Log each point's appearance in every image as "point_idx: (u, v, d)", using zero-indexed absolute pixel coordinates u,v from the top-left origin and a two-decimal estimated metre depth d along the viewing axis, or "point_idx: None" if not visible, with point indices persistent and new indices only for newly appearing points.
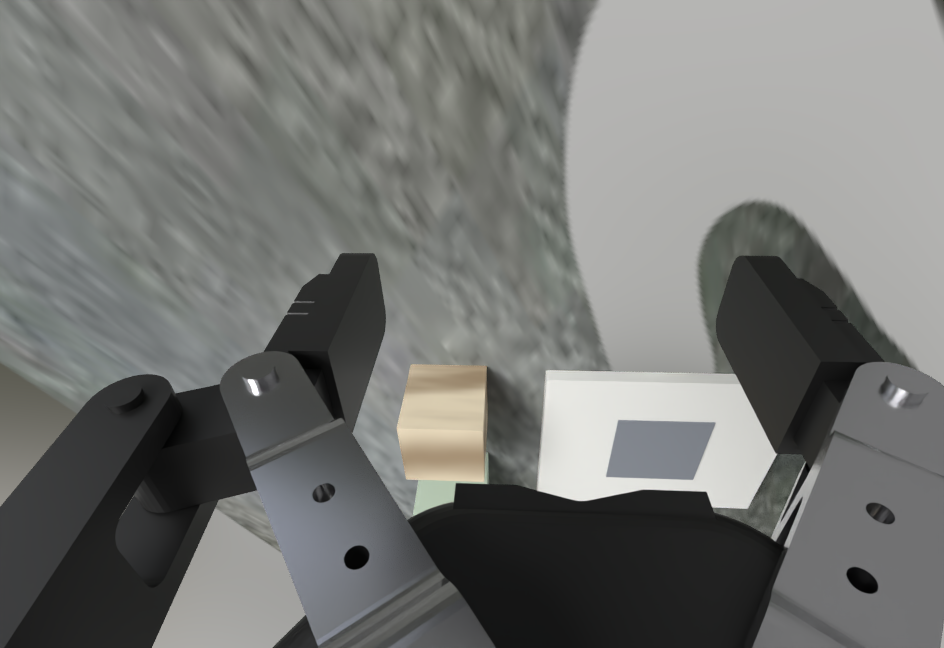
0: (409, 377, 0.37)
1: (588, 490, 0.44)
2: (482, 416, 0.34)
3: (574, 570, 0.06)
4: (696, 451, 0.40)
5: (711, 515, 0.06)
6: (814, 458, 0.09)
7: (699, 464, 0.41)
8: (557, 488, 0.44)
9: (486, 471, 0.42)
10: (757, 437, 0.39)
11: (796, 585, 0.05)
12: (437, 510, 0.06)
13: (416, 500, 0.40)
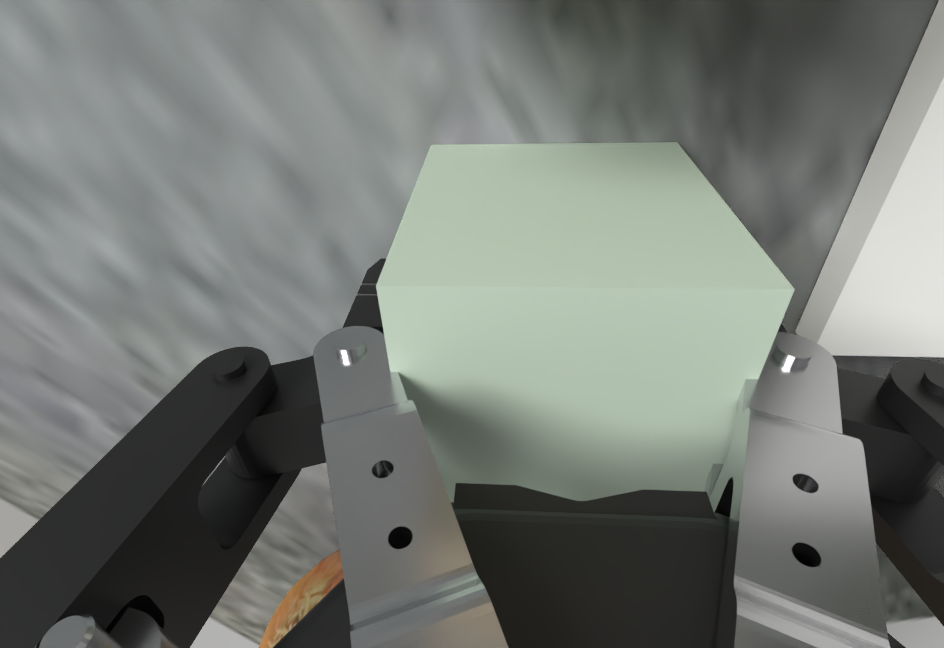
0: None
1: None
2: None
3: (574, 570, 0.06)
4: None
5: (711, 515, 0.06)
6: None
7: None
8: (917, 290, 0.12)
9: (698, 174, 0.10)
10: None
11: (796, 585, 0.05)
12: None
13: (398, 244, 0.08)
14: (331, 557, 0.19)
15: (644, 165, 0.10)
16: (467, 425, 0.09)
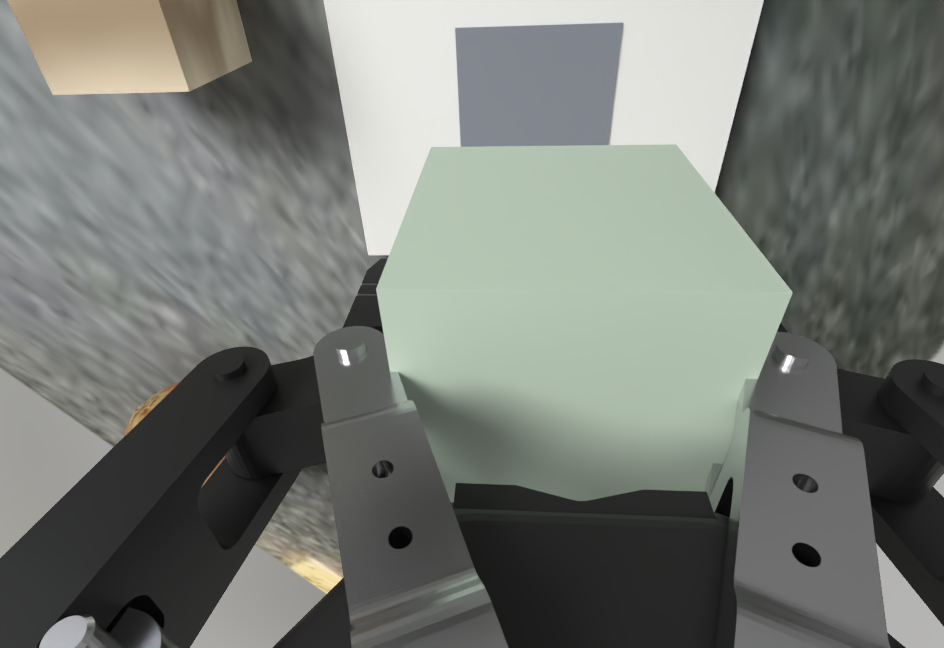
0: None
1: None
2: None
3: (574, 570, 0.06)
4: (599, 108, 0.24)
5: (711, 515, 0.06)
6: None
7: (609, 143, 0.25)
8: (393, 221, 0.28)
9: (697, 177, 0.10)
10: (699, 61, 0.22)
11: (796, 585, 0.05)
12: None
13: (398, 247, 0.08)
14: None
15: (643, 167, 0.10)
16: (467, 427, 0.09)
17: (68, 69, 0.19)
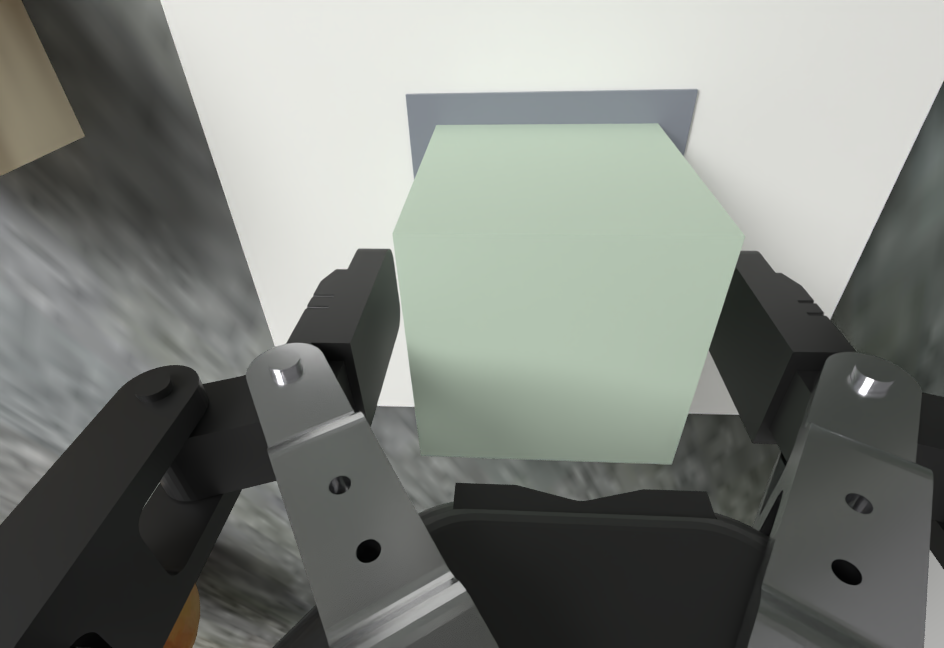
0: None
1: (399, 369, 0.18)
2: None
3: (574, 570, 0.06)
4: None
5: (711, 515, 0.06)
6: (788, 448, 0.09)
7: None
8: None
9: (674, 149, 0.11)
10: (823, 153, 0.13)
11: (796, 585, 0.05)
12: (437, 510, 0.06)
13: (409, 203, 0.09)
14: None
15: (627, 142, 0.12)
16: (468, 364, 0.10)
17: None
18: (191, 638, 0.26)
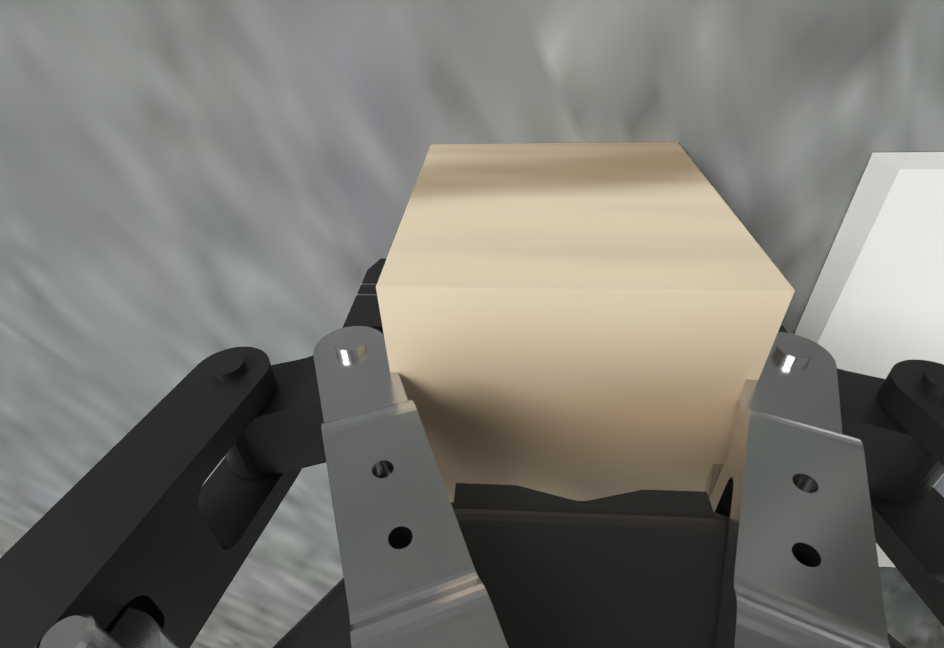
0: (427, 166, 0.11)
1: None
2: (754, 247, 0.08)
3: (574, 570, 0.06)
4: None
5: (711, 515, 0.06)
6: None
7: None
8: None
9: None
10: None
11: (796, 585, 0.05)
12: None
13: None
14: None
15: None
16: None
17: None
18: None
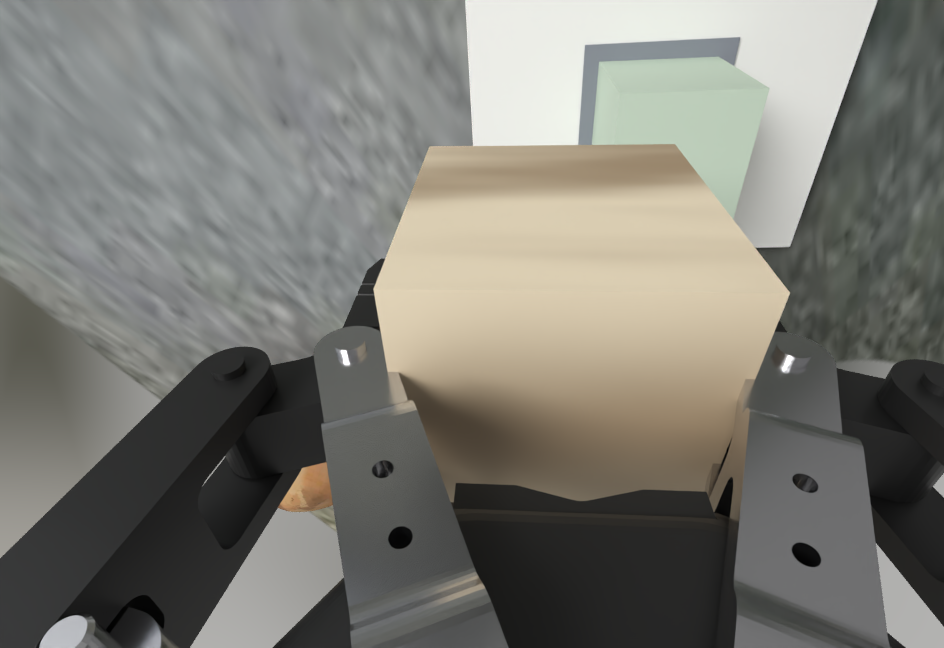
0: (425, 168, 0.11)
1: None
2: (750, 249, 0.08)
3: (574, 570, 0.06)
4: None
5: (711, 515, 0.06)
6: None
7: None
8: None
9: (730, 65, 0.23)
10: (807, 70, 0.24)
11: (796, 585, 0.05)
12: None
13: (617, 86, 0.21)
14: None
15: (705, 63, 0.23)
16: None
17: None
18: None
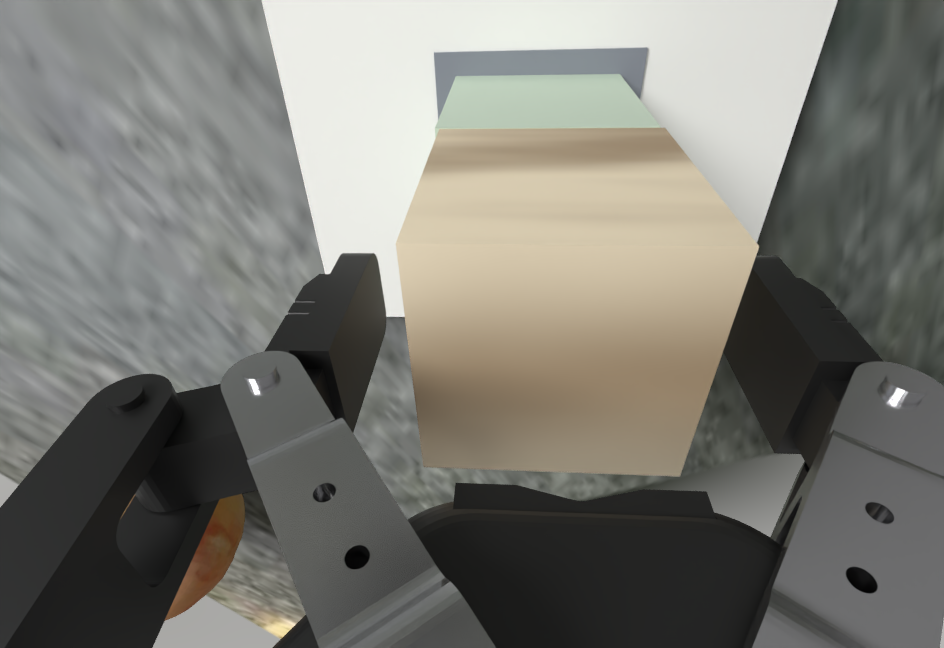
0: (436, 147, 0.12)
1: None
2: (727, 213, 0.09)
3: (574, 570, 0.06)
4: None
5: (711, 515, 0.06)
6: (813, 458, 0.09)
7: None
8: None
9: (627, 87, 0.16)
10: (743, 96, 0.18)
11: (796, 585, 0.05)
12: (437, 510, 0.06)
13: (443, 115, 0.14)
14: None
15: (595, 83, 0.16)
16: None
17: (473, 442, 0.11)
18: (239, 532, 0.30)
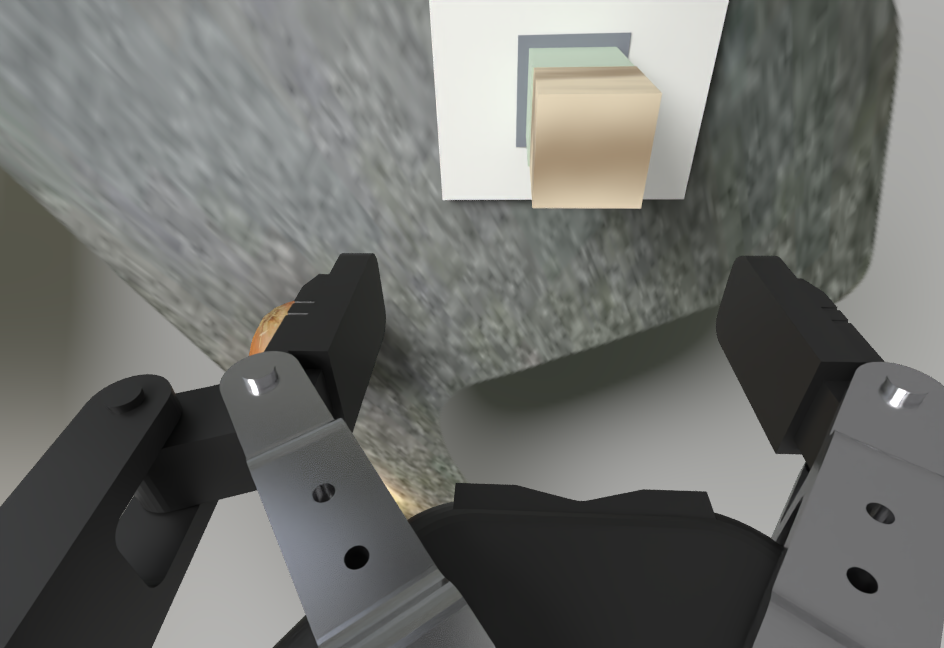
0: (536, 72, 0.27)
1: (498, 175, 0.38)
2: (654, 87, 0.24)
3: (574, 570, 0.06)
4: None
5: (711, 515, 0.06)
6: (814, 458, 0.09)
7: None
8: (463, 174, 0.38)
9: (620, 52, 0.31)
10: (682, 59, 0.33)
11: (796, 585, 0.05)
12: (437, 510, 0.06)
13: (532, 62, 0.29)
14: None
15: (603, 50, 0.32)
16: None
17: (555, 192, 0.26)
18: None
